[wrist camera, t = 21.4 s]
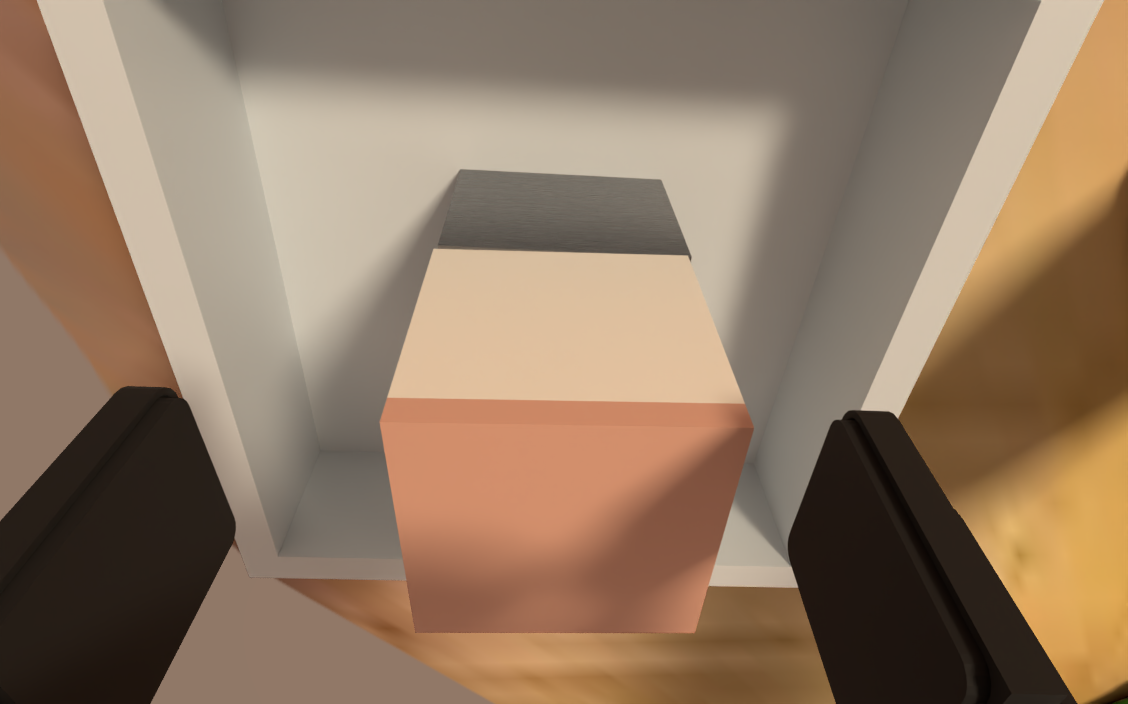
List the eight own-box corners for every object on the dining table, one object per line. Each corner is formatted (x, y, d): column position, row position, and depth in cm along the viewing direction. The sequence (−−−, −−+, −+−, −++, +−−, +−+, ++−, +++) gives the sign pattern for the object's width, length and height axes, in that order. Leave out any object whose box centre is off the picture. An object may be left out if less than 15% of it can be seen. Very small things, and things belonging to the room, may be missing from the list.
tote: (963, -83, 16) (1137, -70, 12) (768, 466, 28) (814, 588, 23) (156, -147, 15) (-23, -163, 10) (302, 453, 27) (249, 577, 22)
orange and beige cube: (688, 255, 15) (754, 428, 10) (656, 439, 19) (694, 633, 14) (433, 248, 15) (379, 421, 10) (449, 437, 18) (415, 632, 14)
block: (661, 179, 19) (691, 257, 15) (635, 342, 23) (655, 440, 19) (460, 169, 19) (437, 245, 15) (466, 336, 22) (448, 434, 18)
